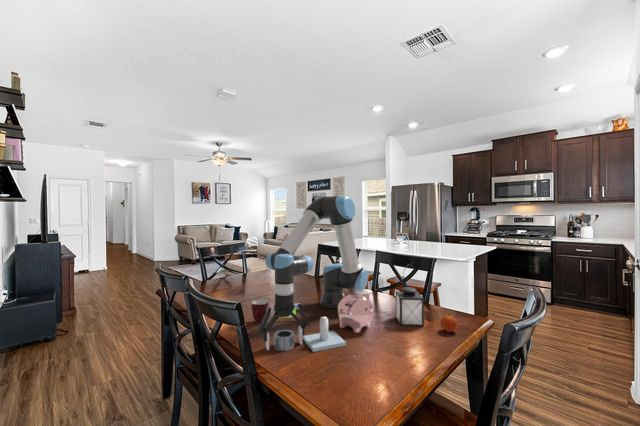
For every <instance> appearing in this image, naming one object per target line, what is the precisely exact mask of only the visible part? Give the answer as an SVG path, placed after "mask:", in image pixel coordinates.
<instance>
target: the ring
mask: <svg viewBox="0 0 640 426" xmlns="http://www.w3.org/2000/svg"><path fill="white" fill-rule="evenodd" d="M295 334H296V333H295V332H294V331H293V330H291V329H280V330H277V331H275V333H274V334H273V347H274V350H276V351H279V352H286V351H290V350H292V349H294V348H295V346H296V343H295V342H296V339H295V337H296V335H295Z"/></svg>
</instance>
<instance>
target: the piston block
mask: <svg viewBox="0 0 640 426" xmlns="http://www.w3.org/2000/svg"><path fill="white" fill-rule="evenodd" d="M302 341H304V342H305V344H306V345H307V347H308V348H310V350H311V351H312V352H313V353H315V352H321V351H322V352H323V351H327V350H331V349H336V348H341V347H346V346H347V341H345V340H344V339H343V338H342V337H341V336H340V335H339V334H338V333H337V332H336V331H335V330H329V318H328V317H327V316H321V317H320V318H319V333H318V332H317V333H312V334H308V335H302Z"/></svg>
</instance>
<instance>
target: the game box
mask: <svg viewBox="0 0 640 426" xmlns="http://www.w3.org/2000/svg"><path fill="white" fill-rule="evenodd" d="M297 311H298V309H296V307H295V308H294V310H293V311H292V312H293V313H294V314H295V315H296V314H297ZM296 316H297V315H296ZM275 322H296V320H295V319H294V318H293V317H292V316H291V315H289V316H288V317H279V318H278V319H277V320H276V321H275Z"/></svg>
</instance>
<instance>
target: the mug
mask: <svg viewBox="0 0 640 426" xmlns="http://www.w3.org/2000/svg"><path fill="white" fill-rule="evenodd" d="M267 306H269V307H270V305H269V300H267V299H256V300H253V301H251V312H252V317H253V319H254V321H255V323H256V324H257V325H260V324H261V322H262V320H263V318H264V316H265V314H266V310H267Z"/></svg>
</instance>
